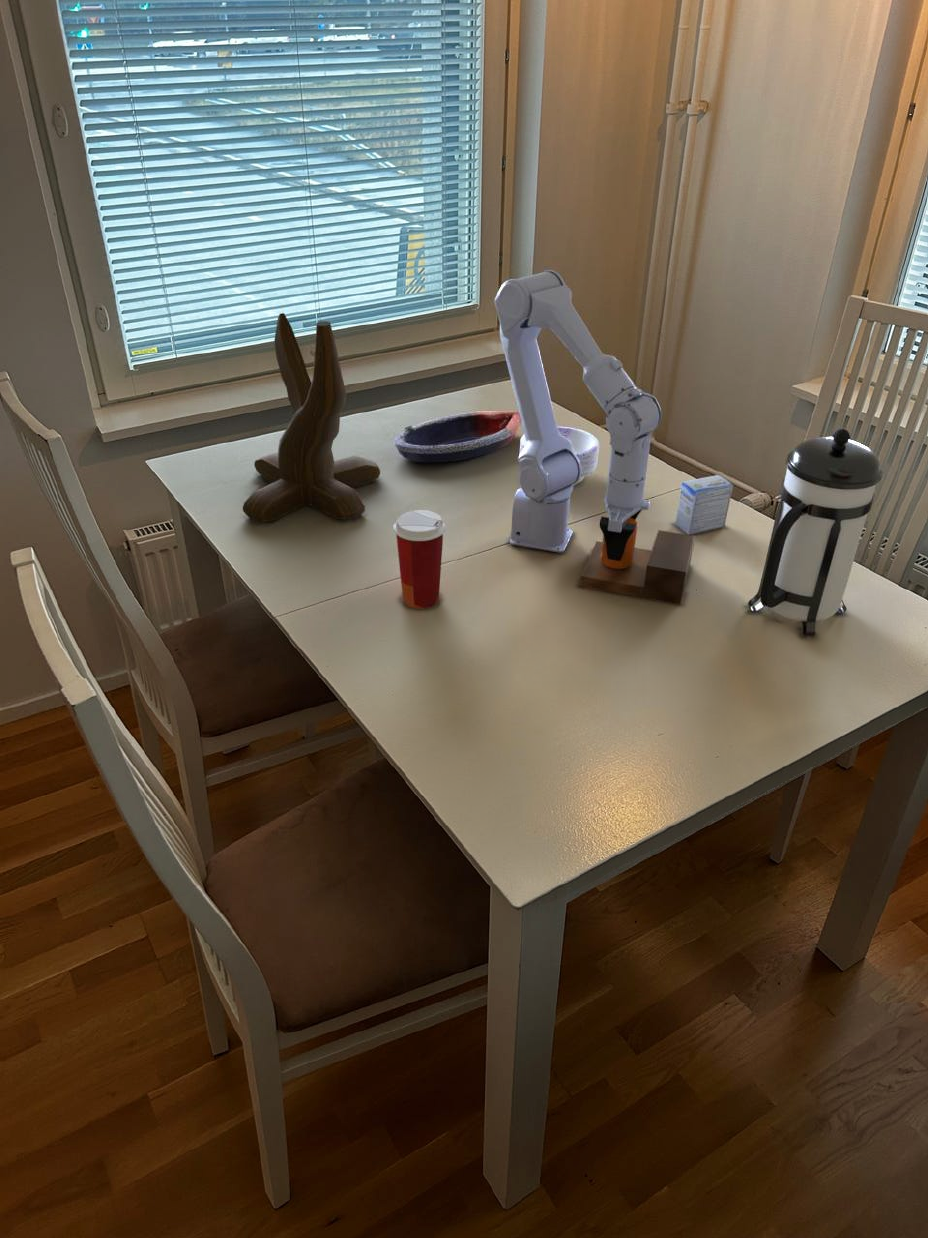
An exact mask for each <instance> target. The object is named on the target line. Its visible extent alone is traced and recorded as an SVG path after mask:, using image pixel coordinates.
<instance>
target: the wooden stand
mask: <svg viewBox="0 0 928 1238" xmlns="http://www.w3.org/2000/svg"><path fill="white" fill-rule="evenodd" d="M315 325H316V327H315V328H316V329H315V345H314V358H313V371H312V380H311V378H310V376H309V373H308V370H307V367H306V363H305V361H304V358H303V354H302V351H301V348H300V346H299V344H298V341H297V338H296V336H295V332H294V329H293V328H292V325H291V323H290V321H289V320H288V318H287V316H286V314H285V313H284V312H281V313H279V315H278V317H277V321H276V328H275V334H274V339H273V340H274V348H275V349H274V350H275V356H276V360H277V361H276V362H277V364H278V368H279V372H280V376H281V377H280V378H282V382H283V383H284V385H285V389H286V394H287V398H288V401H289V404H290V406H291V408H292V410H293V411H292V412H293V413H292V418H291V420H290V422H289V423H288V425H287V427H286V429H285V430H284V432H283V434H282V435H281V437H280V439H279V442H278V447H277V452H274V453H273V452H272V453H269V454H266V455H263V456H261V457H259V458H257V459H255V460H254V464H253V465H254V469H255V471H256V472H257V473H258V474H259V475H260V476H261V477H262V478H263V479H265V480H267V481H269V482H270V484H267V485H266V486H263V487H261V488H259V489H257V490H255V491H254V492H252V493H251V494H250V495H249V497H248V498H247V499H246V500H245V501H244V502H243V505H242V511H243V513H244V515H246V516H247V517H248V518H249V519H251V520H254V521H256V522H263V523H264V522H265V523H266V522H272V521H276V520H278V519H280V518H282V517H284V516H286V515H287V514H289V513H292V512H293V511H295V510H296V509H299V508H300V507H302V506H313V507H315V508H316V509H318V510H319V511H321V512H323V513H325V514H326V515H328V516H330V517H332V518H334V519H337V520H342V521H343V520H349V519H355V518H356V517H358V516H361V515H362V514H363V513H365V511H366V506H365V504H364V502H363V501H362V499H361V497H360V495H359V494H358V492H357V490H356V489H355V488H358V487H361V486H366V485H368V484H370V483H372V482H373V481H375V480H376V479H378V478H379V477H380V475H381V470H380V467H379V465H378V464H377V463H376V462H375V461H374V460H372V459H369V458H366V457H362V456H357V455H352V456H347V457H343V458H340V459H337V460H335V459H334V458H335V457H334V453H333V448H332V447H333V444H334V441H335V439H336V438H337V437H338V435H339V433H340V424H341V413H342V411H343V409H344V408H345V406H346V401H347V396H348V393H347V390H346V385H345V381H344V377H343V373H342V369H341V368H342V367H341V363H340V357H339V354H338V349H337V344H336V341H335V335H334V332H333V328H332V323H331V322H329V321H327V320H326V321H325V320H321V321H317V322H316V324H315Z"/></svg>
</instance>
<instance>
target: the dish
mask: <svg viewBox="0 0 928 1238" xmlns="http://www.w3.org/2000/svg"><path fill="white" fill-rule="evenodd" d="M521 426H522V421H521V417H520V413H519V410H518V411H506V410H505V411H503V410H488V411H487V410H483V411H481V410H480V411H470V412H462V413H456V414H451V415H446V416H442V417H438V418H434V419H431V420H427V421H424V422H421V423H418V424H415V425H407V426H406V427H405V428H404V429H403V430H402V431H401V432H400V433H398V435H397V436H396V438H395V439H394V447H395V448H396V449H397V451H398V453H399V454H400V455H401V456H402V457H403V458H404V459H406V460H408V461H411V462H418V463H445V462H446V463H447V462H456V461H462V460H468V459H472V458H476V457H480V456H483V455H486V454H489V453H492V452H494V451H497V450H500V449H502V448H504V447H505V446H507V445H508V444H509V443H510V442H511V441H512V440H513V439H514V437H515V435H516V434H517V432H518V431H519V429H520V427H521Z"/></svg>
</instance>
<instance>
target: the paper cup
mask: <svg viewBox="0 0 928 1238" xmlns="http://www.w3.org/2000/svg"><path fill="white" fill-rule="evenodd" d="M392 529H393V531H394V533H395V535H396V547H397V557H398V564H399V574H400V575H399V576H400V584H401V586H400V587H401V593H402V600H403V603H404V604H405V605H406V606H408V607H410V608H412V609H417V610H424V609H429V608H432V607H434V606H435V605H437V603H438V602H439V598H440V587H441V573H442V572H441V570H442V559H443V557H442V556H443V542H444V541H443V540H444V533H445V531H446V525H445V523H444V521H443V519H442V517H441V516H440V515H439V514H438V513H436V512H433V511H431V510H425V509H414V510H410V511H407V512H404V513H402V514H400V515H399V516H398V518H397V519H396V520H395V523H394V524H393V526H392Z"/></svg>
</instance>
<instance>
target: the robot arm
mask: <svg viewBox="0 0 928 1238" xmlns="http://www.w3.org/2000/svg"><path fill="white" fill-rule="evenodd" d="M493 302H494V305H495V309H496V314H497V317H498V321H499V337H500V342H501V345H502V349H503V354H504V357H505V361H506V365H507V370H508V373H509V377H510V380H511V386H512V389H513V392H514V397H515V401H516V405H517V410H518V412H519V413H520V417H521V426H522V429H523V432H524V434H525V437H526V445H525V446H524V448H523V450H522V452H521V454H520V453H519V456H518V457H517V462H518V466H519V474H518V481H519V486H520V488H518V489H517V490H516V492H515V495H514V498H513V504H512V513H511V516H512V517H511V531H510V532H511V533H510V540H509V544H510V545H511V546H512V545H513V546H517V547H525V548H528V549H529V548H531V549H534V550H535V549H536V550H539V551H540V550H541V551H546V552H552V553H559V554H563V553H564V552H565V550H566V548H567V546H568V544H569V542H570V539H571V538H572V535H573V532H574V531H573V530H572V529H569V528H568V527H569V518H570V517H569V516H570V506H571V504H570V503H571V493H572V492H573V491H574V485H573V484H575V485H577V484H578V483H577V482H578V481H579V479H580V477H581V474H582V468H581V463H580V461H579V459H578V457H577V456H576V454H575V453H574V450H573V447H572V443H571V441H569V440H568V439H566V438H565V437H563V436H561V435H560V434H559V432H558V428H557V427H558V425H557V419H556V416H555V412H554V408H553V403H552V399H551V395H550V391H549V387H548V382H547V378H546V374H545V369H544V365H543V362H542V357H541V353H540V348H539V344H538V341H537V338H538V336H539V334H540V333H541V332H542V329H545V330H551V331H552V332H553V333H554V334H555V335H556V337H557V338H558V340H560V342H561V343H562V344H563V345H564V347H565V348H566V349H567V350H568V351H569V352H570V354H571V355H572V356H573V357H574V358H575V359H576V361H577V362H578V363H579V364H580V365H581V367H582V368H583V371H582V372H583V373H582V382H583V383H584V384H585V386H586V387H587V388H588V391H590V393H591V394H592V396H593V397H594V398H595V400H596V401H597V402H598V404H599V405H600V407H601V409H602V410H603V411H604V412H605V414H606V415H607V416H606V417H605V426H606V429H607V431H608V434H609V436H610V439H609V445H610V456H609V466H608V472H607V473H608V474H607V481H606V482H607V483H606V493H605V496H604V500H603V504H604V505H603V506H604V507H605V511H606V514H607V516H601V517H600V519H599V528H600V530H601V533H602V534H603V535H604V538H605V542H606V551H607V557H608V559H610V560H616V561H621V559H622V556H623V554H624V551H625V547H626V544H627V541H628V539H629V537H630V536H631V535H632V533H633V532H634V530H635V529H636V526H637V524H638V523H637V524H631V523H626V520H627V519H628V518H630V517H631V518H633V519H634V520H636V521H637V518H638V517H639V514H640V513H641V512H642V511H647V510H649V508H650V504H651V502H650V500H646V499H644V493H645V492H644V491H645V485H646V477H647V471H648V470H647V469H648V463H649V455H650V448H651V441H652V432H653V431H654V430H656V429H657V428H658V427H659V425H660V424H661V422H662V417H663V416H662V415H663V414H662V409H661V406H660V404H659V402H658V400H657V398H656V397H655V395H653V394H651V393H648V392H644V391H643V390H642V388H639V387H637V386H636V384H635V383H634V382H633V380H632V379H631V378H630V376H629V375H628V374H627V372H626V371H625V369H624V368H623V367H624V365H623V363H622V362H621V360H620V359H617V358H616V356H614V355H611V354H607V353H603V352H602V351H601V349H600V347H599V346H598V344H597V343H596V341H595V339H594V338H593V336H592V334H591V332H590V331H589V329H588V328H587V326H586V324H585V323H584V321H583V320H582V318H581V317H580V315H579V313H578V312H577V310H576V308H575V306H574V305H573V302H572V290H571V289H570V287H569V286H568V285H567V284H566V283H565V280H564V279H563V277H562V276H561V274H560V273H558V272H557V271H555V270H552V269H547V270H543V271H541V272H539V273H535V274H531V275H527V276H523V277H519V278H511V279H507V280H506V281H504V282H503V284H501V286H500V288H499V290H498V291H497V293H496V295H495V298H494V301H493ZM548 455H549V456H548ZM576 483H577V484H576ZM608 517H609V518H608ZM637 527H638V526H637ZM603 535H602V536H603Z"/></svg>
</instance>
